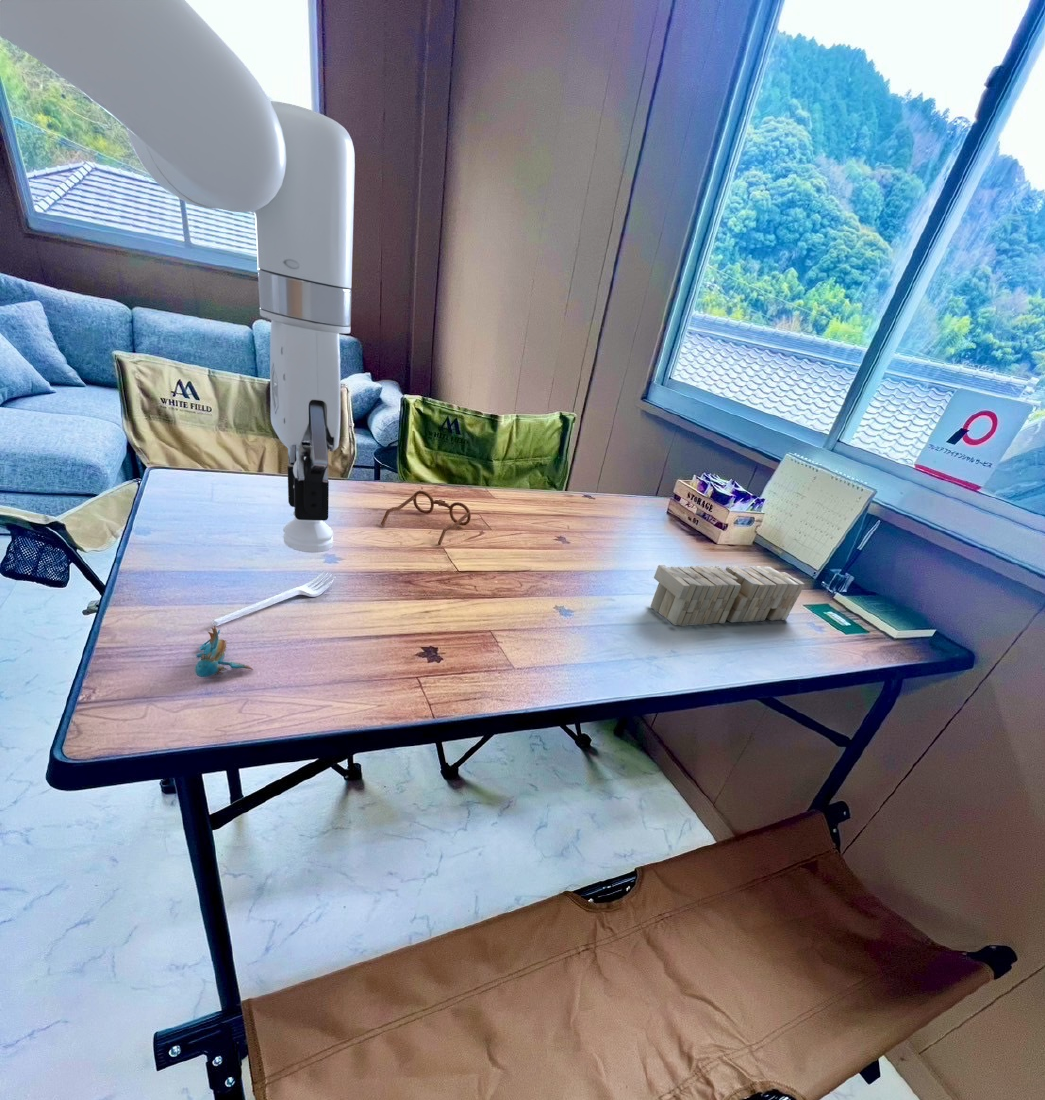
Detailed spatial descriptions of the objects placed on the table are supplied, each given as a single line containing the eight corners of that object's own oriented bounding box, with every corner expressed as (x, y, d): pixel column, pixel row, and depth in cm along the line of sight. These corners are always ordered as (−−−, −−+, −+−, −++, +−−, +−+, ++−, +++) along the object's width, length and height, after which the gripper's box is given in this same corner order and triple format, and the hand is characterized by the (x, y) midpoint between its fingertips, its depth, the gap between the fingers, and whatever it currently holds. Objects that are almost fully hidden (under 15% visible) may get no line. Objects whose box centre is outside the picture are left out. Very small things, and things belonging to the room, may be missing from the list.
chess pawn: (276, 536, 63) (272, 449, 58) (321, 533, 66) (322, 450, 61) (294, 555, 60) (292, 465, 55) (341, 551, 63) (343, 465, 58)
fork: (205, 622, 74) (203, 609, 73) (322, 580, 89) (322, 568, 88) (223, 632, 73) (222, 619, 72) (338, 587, 88) (338, 576, 87)
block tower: (757, 605, 117) (641, 605, 104) (775, 566, 113) (657, 560, 99) (785, 624, 112) (667, 627, 98) (806, 584, 107) (685, 581, 94)
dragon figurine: (150, 649, 66) (181, 654, 61) (200, 608, 69) (233, 609, 64) (191, 690, 70) (224, 698, 65) (237, 649, 73) (271, 653, 69)
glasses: (469, 529, 120) (473, 505, 117) (439, 546, 109) (442, 519, 107) (414, 511, 123) (416, 487, 120) (379, 525, 112) (380, 499, 109)
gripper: (247, 287, 55) (258, 485, 65) (273, 306, 43) (282, 543, 54) (330, 303, 58) (328, 489, 68) (374, 325, 47) (364, 543, 57)
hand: (308, 511), depth 61 cm, fingers closed on chess pawn, 3 cm apart
